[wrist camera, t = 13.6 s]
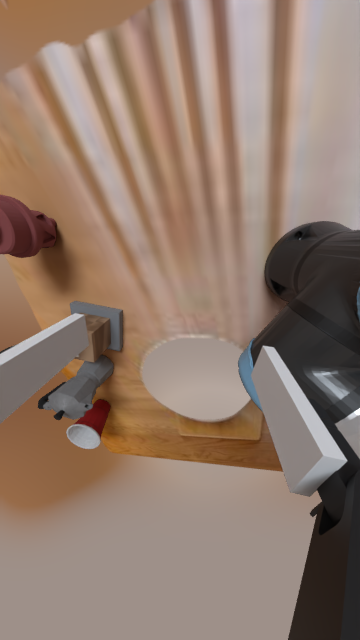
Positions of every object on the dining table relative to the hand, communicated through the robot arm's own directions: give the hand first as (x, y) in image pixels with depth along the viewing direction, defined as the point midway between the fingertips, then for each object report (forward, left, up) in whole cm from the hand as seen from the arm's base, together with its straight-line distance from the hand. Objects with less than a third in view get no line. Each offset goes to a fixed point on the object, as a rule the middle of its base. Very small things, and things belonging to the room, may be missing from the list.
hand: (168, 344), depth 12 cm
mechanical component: (+34, -4, -28) cm, 44 cm away
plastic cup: (+24, +52, -28) cm, 64 cm away
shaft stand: (+23, +18, -28) cm, 40 cm away
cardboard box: (+23, +18, -26) cm, 39 cm away
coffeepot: (+24, +33, -28) cm, 50 cm away
